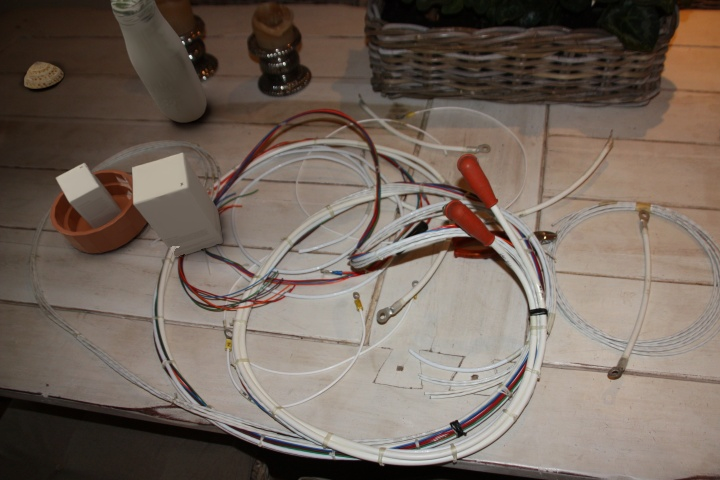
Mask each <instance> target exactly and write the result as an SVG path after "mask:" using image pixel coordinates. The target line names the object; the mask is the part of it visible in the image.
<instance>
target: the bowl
mask: <svg viewBox="0 0 720 480" xmlns="http://www.w3.org/2000/svg"><path fill="white" fill-rule="evenodd" d="M92 172H93V174H94V175H95V176H96V177H97V178H98V180H99V181H100V182H101V183H102V185H103V186H104V187H105V188H106V190H107V191H108V192H109V193H110V195H111V196H112V197H113V198H114V200H115V201H116V203H117V205H118V206H119V208H120V209H121V211H122V212H121V214H119V215H118V216H117V217H116V218H114V219H113V220H112V221H111V222H109V223H107V224H105V225H103V226H101V227H99V228H96V229H93V228H92V227H91V226H90V225H89V224H88V222H87V221H86V220H85V219H84V218H83V217H82V216H81V215H80V214H79V213H78V212H77V211H76V210H75V209H74V208H73V206H72V205H71V204H70V203H69V202H68V200H67V198H66V196H65V194H64V193H63V191H62V190H61V191H60V193H59V194H58V195H57V196H56V198H55V199H54V201H53V203H52V204H51V207H50V214H49V219H50V222H51V225H52V227H53V228H54V229H55V230H56V231H57V232H58V233H59V234H60V235H61V236H62V237H63V238H64V239H65V240H66V241H67V242H68V243H69V244H70V245H71V246H73V247H74V248H75V249H76V250H78V252H79V251H80V252H83V253H87V254H102V253H105V252H110V251H113V250H116V249H119V248H120V247H122V246H124V245H126V244H128V243H130V241H132V240H133V239H134V238H135V237H136V236H137V235H139V234H140V233H141V231H142V230H143V229H144V227H146V225H147V223H148V222H147V221H146V219H145V218H144V217H143V216H142V214H141V213H140V212H139V211H138V209H137V208H136V207H135V206H134V205H133V176H132V175H130V174H129V173H127V172H126V171H123V170H118V169H114V168H113V169H112V168H111V169H100V170H97V171H96V170H95V171H92Z"/></svg>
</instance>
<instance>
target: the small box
mask: <svg viewBox="0 0 720 480" xmlns="http://www.w3.org/2000/svg"><path fill="white" fill-rule="evenodd" d="M93 172H94V171H92V169H90V167H89V166H88V165H87V163H86V162H83V163H81V164H79V165H77V166H75V167H74V168H72V169H69V170H68V171H65V172H64V173H62V174H60V175H58V176H56V177H55V180H56V182H57V184H58V186H59V187H60V189H61V192H62V191H63V193H64V194H65V196H66V198H67V200H68V202H69V203H70V204H71V205H72V206H73V208H74V209H75V210H76V211H77V212H78V213H79V214H80V215H81V216H82V217H83V218H84V219H85V220H86V221H87V222H88V224H89V225H90V226H91V227H92V228H93V229H96V228H99V227H101V226H103V225H105V224H107V223H109V222H111V221H112V220H113V219H114V218H116V217H117V216H118V215H119V214H121V212H122V211H121V209H120V208H119V206H118V205H117V203H116V201H115V200H114V198H113V197H112V196H111V195H110V193H109V192H108V191H107V190H106V188H105V187H104V186H103V185H102V183H101V182H100V181H99V180H98V178H97V177H96V176H95V175H94V174H93Z"/></svg>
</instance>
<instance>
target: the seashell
mask: <svg viewBox="0 0 720 480" xmlns="http://www.w3.org/2000/svg"><path fill="white" fill-rule="evenodd" d="M64 77H65V74H64V72H63V70H62V69H61V68H60V67H58V66H56V65H55V64H52V63H49V62H44V61H36V62H34V63H33V64H31V66H29V68H28V69H27V72H26V74H25V75H24V78H23V86H24V87H26V88H29V89H36V90H37V89H38V90H39V89H44V88H48V87H51V86H53V85H56V84H58V83H60V81H62V80H63V78H64Z"/></svg>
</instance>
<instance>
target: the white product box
mask: <svg viewBox="0 0 720 480" xmlns="http://www.w3.org/2000/svg"><path fill="white" fill-rule="evenodd" d="M131 171H132V175H131V176H132V177H133V205H134V206H135V207H136V208H137V209H138V211H139V212H140V213H141V214H142V216H143V217H144V218H145V219H146V221H147V223H148V224H149V226H150V227H151V228H152V229H153V231H154V232H155V233H156V235H157V236H158V237H159V238H160V240H161V241H162V243H164V245H165V246H166V247H167V249H168V250H170V247H172V246H180V247H179V248H176V249H175V251H174V255H173V256H174V257H175V256H179V255H183V254H185V255H184V256H187V255H190V254H193V253H196V252H199V251H202V250H201V249H202V248H206V249H209V248H211V247H215V246H216V245H215V244H219V245H221V244H223V243H224V239H223V231H222V226H221V220H220V214H219V209H218V207H217V205H216V204H215V202H214V201H213V199H212V198H211V197H212V196H210V194H209V192H208V190H207V189H206V188H205V186H204V184H203V182H202V181H201V179H200V178H199V176H198V174H197V172H196V171H195V169H194V167H193V166H192V164H191V162H190V161H189V159H188V158H187V155H186V154H185V152H180V153H177V154H172V155H170V156H166V157H163V158H160V159H155V160H153V161H149V162H146V163H142V164H140V165H135V166H132V167H131ZM217 209H218V210H217Z"/></svg>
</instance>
